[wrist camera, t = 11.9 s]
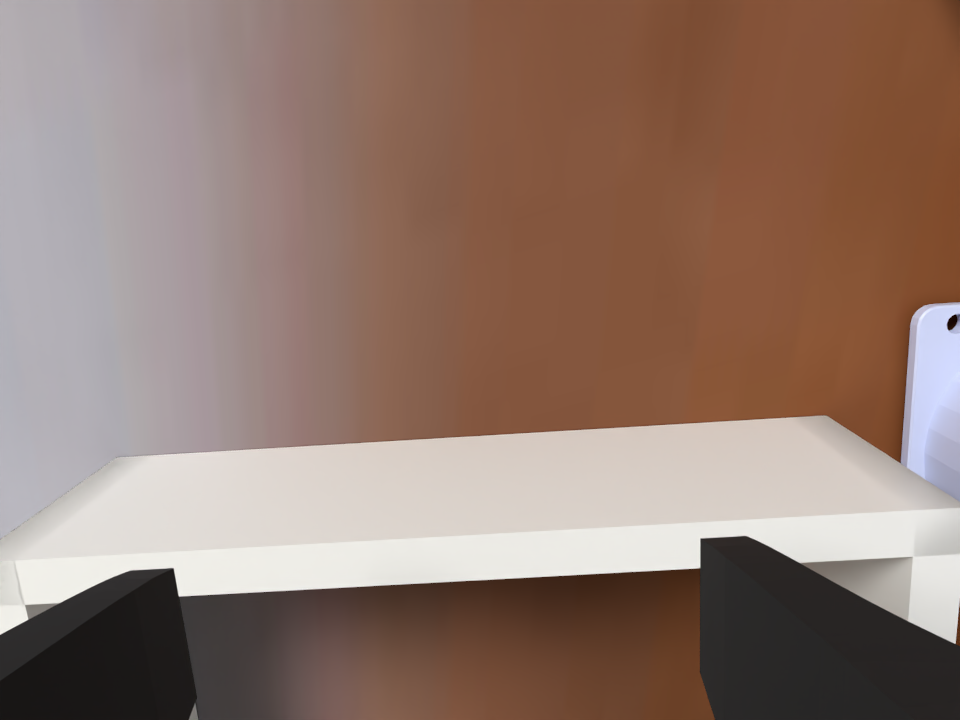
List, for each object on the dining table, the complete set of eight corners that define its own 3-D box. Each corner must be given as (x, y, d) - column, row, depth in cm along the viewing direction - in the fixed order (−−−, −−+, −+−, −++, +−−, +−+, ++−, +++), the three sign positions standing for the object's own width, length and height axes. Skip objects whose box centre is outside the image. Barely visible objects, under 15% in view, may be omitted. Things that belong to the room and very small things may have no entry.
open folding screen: (826, 415, 20) (968, 507, 14) (810, 779, 22) (923, 984, 17) (116, 457, 20) (-34, 562, 14) (183, 808, 23) (79, 1018, 17)
